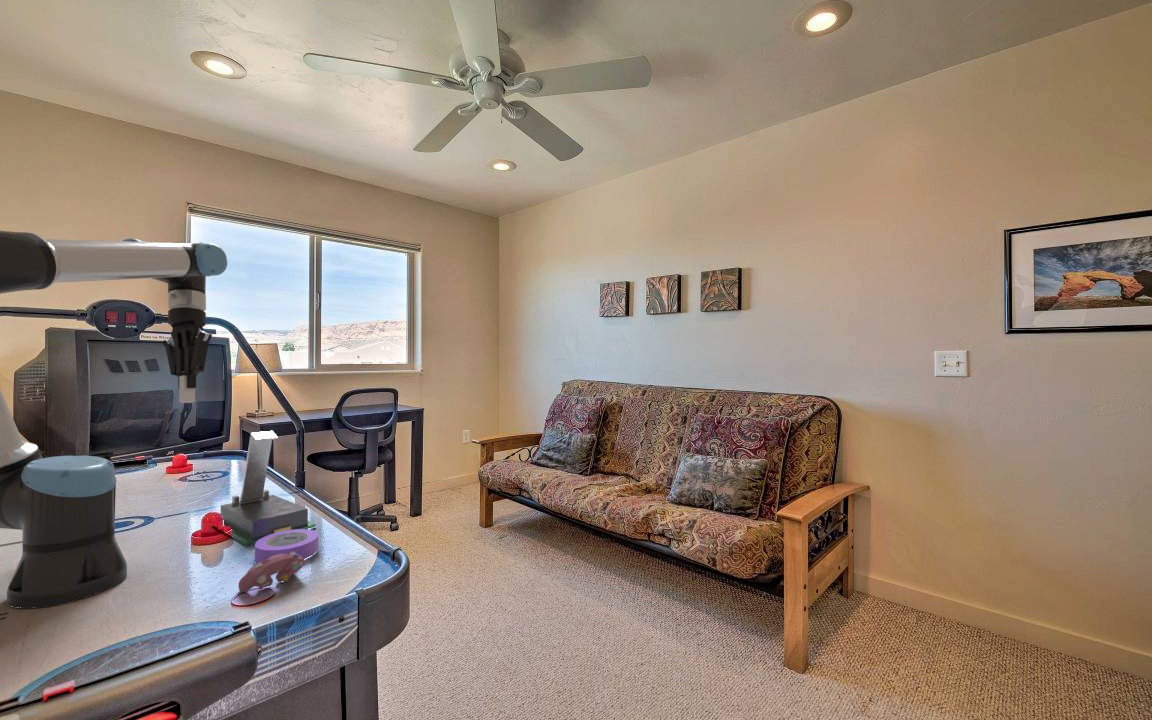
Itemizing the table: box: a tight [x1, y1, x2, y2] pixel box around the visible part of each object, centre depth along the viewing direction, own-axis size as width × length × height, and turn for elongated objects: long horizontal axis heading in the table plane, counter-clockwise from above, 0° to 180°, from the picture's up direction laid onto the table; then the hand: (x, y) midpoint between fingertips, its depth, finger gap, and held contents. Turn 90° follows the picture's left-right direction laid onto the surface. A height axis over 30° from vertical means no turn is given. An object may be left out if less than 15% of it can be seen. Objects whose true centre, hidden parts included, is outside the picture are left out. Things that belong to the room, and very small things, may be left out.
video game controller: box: [238, 552, 305, 593], centre depth 90 cm, size 10×5×7 cm, turn 148°
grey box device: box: [220, 489, 317, 547], centre depth 121 cm, size 22×15×7 cm
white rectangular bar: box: [239, 430, 279, 503], centre depth 123 cm, size 20×5×4 cm
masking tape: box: [254, 529, 319, 563], centre depth 104 cm, size 12×12×4 cm
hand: (187, 402), depth 119 cm, fingers closed
